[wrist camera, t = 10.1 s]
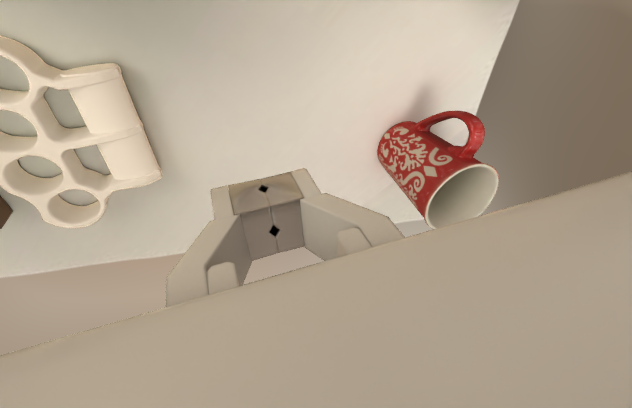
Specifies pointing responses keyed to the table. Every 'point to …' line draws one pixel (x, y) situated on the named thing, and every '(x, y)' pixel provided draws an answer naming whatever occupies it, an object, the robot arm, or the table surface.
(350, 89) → the table surface
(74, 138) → the cream flat holed block
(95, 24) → the table surface
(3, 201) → the bar
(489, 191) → the mug
